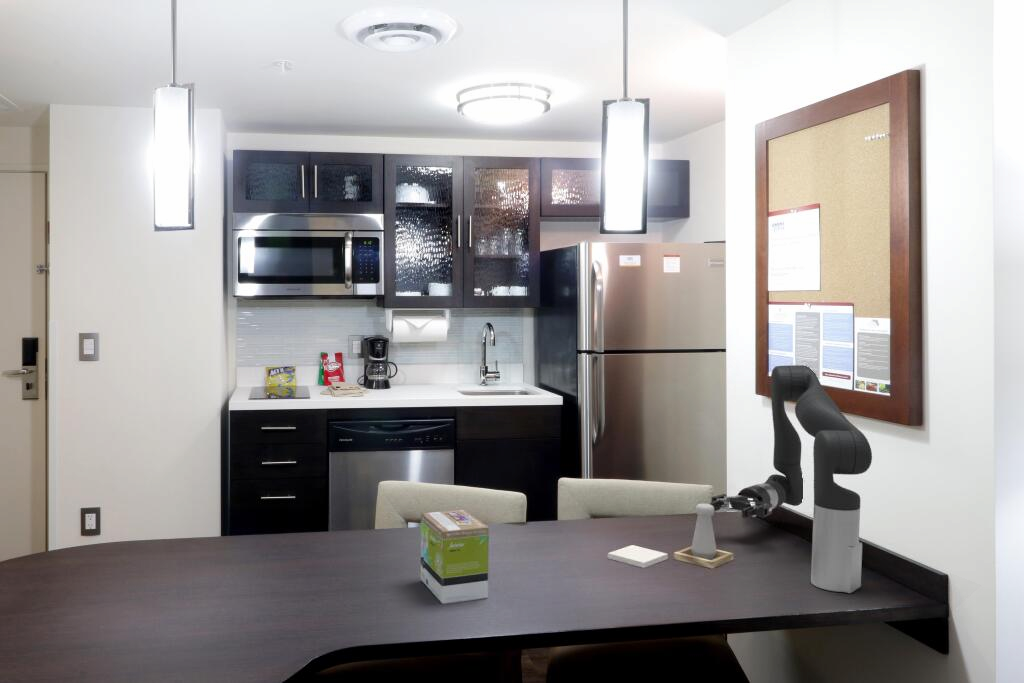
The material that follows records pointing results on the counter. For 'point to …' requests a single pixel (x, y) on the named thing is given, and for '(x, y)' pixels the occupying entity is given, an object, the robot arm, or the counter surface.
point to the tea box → (454, 556)
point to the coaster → (637, 556)
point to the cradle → (686, 557)
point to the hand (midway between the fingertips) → (727, 510)
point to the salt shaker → (704, 533)
